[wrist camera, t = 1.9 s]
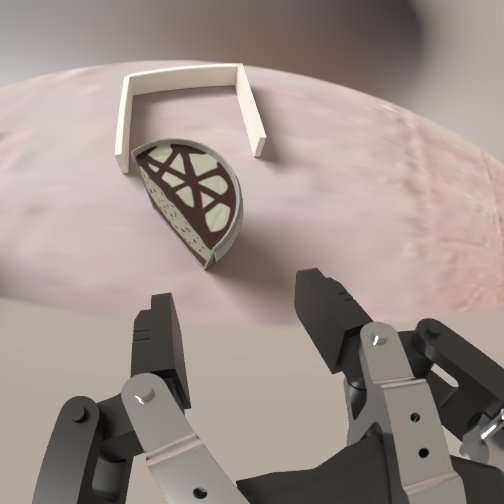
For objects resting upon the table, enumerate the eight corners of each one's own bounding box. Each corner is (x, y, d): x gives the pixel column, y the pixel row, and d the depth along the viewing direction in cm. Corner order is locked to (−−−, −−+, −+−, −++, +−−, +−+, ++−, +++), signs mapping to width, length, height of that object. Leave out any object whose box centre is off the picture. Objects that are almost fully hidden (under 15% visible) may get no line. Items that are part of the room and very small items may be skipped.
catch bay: (122, 173, 31) (114, 155, 27) (128, 93, 35) (124, 75, 31) (259, 156, 34) (266, 137, 31) (238, 82, 38) (241, 63, 35)
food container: (256, 245, 31) (279, 205, 21) (213, 281, 29) (218, 254, 19) (188, 171, 32) (185, 113, 23) (146, 199, 30) (128, 147, 21)
